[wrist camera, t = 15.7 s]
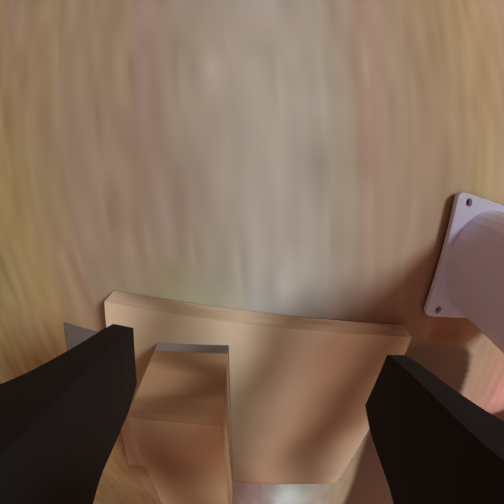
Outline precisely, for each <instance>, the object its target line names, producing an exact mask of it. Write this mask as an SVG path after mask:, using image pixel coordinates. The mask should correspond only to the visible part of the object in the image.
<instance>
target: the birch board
mask: <svg viewBox="0 0 504 504" xmlns="http://www.w3.org/2000/svg"><path fill="white" fill-rule="evenodd" d="M104 304H105V318H106V327H108V326H110V325H112V324H116V325H121V326H126V327H131V328H133V329H134V349H135V365H136V378H137V385H136V389H135V392H134V396H133V399H132V402H131V405H132V403H133V401H134V398H135V396H136V393H137V391H138V388H139V386H140V384H141V381H142V379H143V376H144V374H145V372H146V369H147V367H148V365H149V362H150V360H151V358H152V355H153V353H154V351H155V348H156V346H157V344H158V342H162V343H179V344H200V345H229V369H230V397H231V420H232V442H233V461H234V472H233V481H234V482H248V483H267V484H316V483H335V482H337V481H338V479H339V478H340V476H341V475H342V473H343V472H344V470H345V469H346V467H347V465H348V464H349V462H350V461H351V459H352V457H353V456H354V454H355V452H356V451H357V449H358V447H359V446H360V444H361V442H362V440H363V439H364V437H365V435H366V433H367V431H368V430H369V423H368V418H367V412H366V407H365V404H366V402H367V400H368V398H369V396H370V394H371V391H372V389H373V387H374V385H375V382H376V380H377V378H378V376H379V373H380V371H381V369H382V366H383V364H384V361H385V359H386V356H387V355H405V353H406V351H407V348H408V346H409V343H410V341H411V338H412V336H411V335H410V333H409V332H408V331H407V330H406V328H405V327H404V326H403V325H397V324H381V323H366V322H353V321H341V320H329V319H318V318H307V317H297V316H288V315H278V314H269V313H261V312H252V311H244V310H236V309H229V308H221V307H214V306H206V305H199V304H192V303H186V302H179V301H173V300H166V299H160V298H154V297H148V296H142V295H136V294H130V293H124V292H119V291H113V292H112V293H111V295H110V296H109V297H108V298H107V299H106V300H105V301H104ZM130 408H131V406H130ZM129 410H130V409H129ZM128 413H129V412H128ZM121 433H122V438H123V443H124V447H125V451H126V456H127V460H128V464H131V465H135V466H140V467H144V468H146V467H145V464H144V462H143V459H142V457H141V454H140V452H139V449H138V446H137V444H136V441H135V438H134V436H133V433H132V430H131V427H130V424H129V421H128V419H127V417H126V419H125V421H124V424H123V426H122V428H121Z"/></svg>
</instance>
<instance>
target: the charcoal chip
mask: <svg viewBox="0 0 504 504" xmlns="http://www.w3.org/2000/svg"><path fill="white" fill-rule="evenodd" d="M64 330H65V337H66V344H67V351H68V350H70V349H72V348H73V347H75V346H77V345H78V344H80V343H82V342H83V341H85V340H87V339H88V338H90V337H92V336H93V335H95V334H96V333H98V332H96V331H92V330H88V329H85V328H81V327H78V326H74V325H71V324H67V323H64Z"/></svg>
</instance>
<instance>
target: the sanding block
mask: <svg viewBox="0 0 504 504" xmlns="http://www.w3.org/2000/svg"><path fill="white" fill-rule="evenodd" d="M127 419H128V421H129V424H130V427H131V430H132V433H133V436H134V438H135V441H136V444H137V446H138V449H139V452H140V454H141V457H142V459H143V462H144V464H145V467H146V469H147V471H148V474H149V476H150V478H151V481H152V483H153V485H154V488H155V490H156V492H157V494H158V496H159V499H160V501H161V503H162V504H232V496H233V472H234V461H233V442H232V420H231V397H230V369H229V345H200V344H179V343H162V342H158V344H157V346H156V348H155V351H154V353H153V355H152V358H151V360H150V362H149V365H148V367H147V369H146V372H145V374H144V376H143V379H142V381H141V384H140V386H139V388H138V391H137V393H136V396H135V398H134V401H133V403H132V405H131V408H130V410H129V413H128V415H127Z"/></svg>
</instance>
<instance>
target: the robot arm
mask: <svg viewBox="0 0 504 504" xmlns="http://www.w3.org/2000/svg"><path fill="white" fill-rule="evenodd" d="M467 199H468V200H469V202H468V205H466V201H467ZM437 307H439V308H438V309H437V310H436V308H437ZM435 310H436V311H435ZM424 312H425V313H426V314H427V315H428V316H433V317H452V318H468V319H469V320H470V321H471V322H472V323H473V324H474V325H475V326H476V327H477V328H478V329H479V330H480V331H481V332H483V333H484V334H485V335H486V336H487V337H488V338H489V339H490V340H491V341H492V342H493V343H494V344H495V345H496V346H497V347H498V348H499V349H500V350H501V351H502V352H503V353H504V206H503V205H500V204H497V203H494V202H491V201H489V200H486V199H483V198H480V197H477V196H474V195H471V194H467V193H464V192H458V193H457V194H456V195H455V197H454V202H453V207H452V211H451V216H450V220H449V224H448V228H447V233H446V236H445V240H444V244H443V248H442V252H441V255H440V259H439V262H438V266H437V269H436V272H435V276H434V279H433V282H432V285H431V288H430V291H429V294H428V297H427V300H426V303H425V306H424ZM136 385H137V378H136V365H135V349H134V329H133V328H131V327H126V326H121V325H116V324H112V325H110V326H108V327H106V328H105V329H103V330H101V331H100V332H98V333H96V334H95V335H93V336H92V337H90V338H88V339H87V340H85V341H83V342H82V343H80V344H78V345H77V346H75V347H73V348H72V349H70V350H68V351H67V352H65V353H63V354H62V355H60V356H58V357H56V358H54V359H53V360H51V361H49V362H47V363H45V364H43V365H41V366H39V367H38V368H36V369H34V370H32V371H30V372H28V373H26V374H24V375H22V376H19V377H17V378H15V379H12V380H10V381H7V382H5V383H2V384H0V504H93V501H94V497H95V494H96V490H97V486H98V483H99V480H100V477H101V475H102V472H103V469H104V467H105V465H106V462H107V460H108V458H109V455H110V453H111V451H112V449H113V446H114V444H115V442H116V440H117V437H118V435H119V433H120V431H121V428H122V426H123V424H124V421H125V419H126V417H127V415H128V412H129V409H130V406H131V402H132V399H133V396H134V392H135V389H136ZM365 407H366V412H367V418H368V423H369V428H370V432H371V436H372V439H373V441H374V444H375V447H376V450H377V453H378V456H379V459H380V462H381V464H382V467H383V470H384V473H385V476H386V479H387V482H388V485H389V488H390V491H391V495H392V499H393V503H394V504H504V421H503V420H501V419H499V418H497V417H495V416H493V415H492V414H490V413H488V412H487V411H485V410H484V409H482V408H480V407H479V406H477V405H476V404H474V403H473V402H471V401H470V400H468V399H467V398H465V397H464V396H462V395H461V394H460V393H458V392H457V391H455V390H454V389H453V388H451V387H450V386H448V385H447V384H446V383H444V382H443V381H442V380H440V379H439V378H438V377H436V376H435V375H433V374H432V373H431V372H429V371H428V370H427V369H425V368H424V367H422V366H421V365H419V364H418V363H416V362H415V361H413V360H412V359H410V358H409V357H407V356H405V355H387V356H386V359H385V361H384V364H383V366H382V369H381V371H380V373H379V376H378V378H377V380H376V382H375V385H374V387H373V389H372V391H371V394H370V396H369V398H368V400H367V402H366V404H365Z"/></svg>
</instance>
